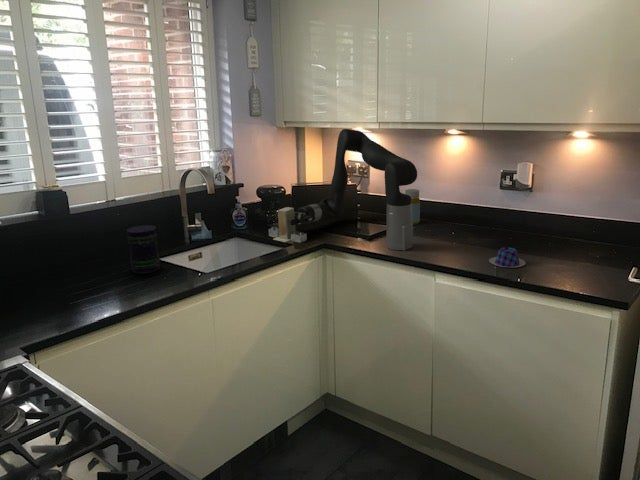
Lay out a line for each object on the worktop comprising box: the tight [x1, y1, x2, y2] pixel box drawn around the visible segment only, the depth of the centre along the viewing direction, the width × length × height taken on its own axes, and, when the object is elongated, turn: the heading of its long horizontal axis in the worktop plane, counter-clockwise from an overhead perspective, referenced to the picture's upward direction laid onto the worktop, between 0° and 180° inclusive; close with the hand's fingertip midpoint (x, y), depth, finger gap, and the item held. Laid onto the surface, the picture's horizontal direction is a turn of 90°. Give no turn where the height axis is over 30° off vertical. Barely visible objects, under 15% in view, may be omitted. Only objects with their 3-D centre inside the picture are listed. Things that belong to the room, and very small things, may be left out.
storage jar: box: [126, 224, 161, 274], centre depth 194 cm, size 10×10×15 cm
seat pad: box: [272, 237, 292, 243], centre depth 229 cm, size 7×10×1 cm
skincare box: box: [277, 206, 296, 239], centre depth 227 cm, size 6×4×12 cm
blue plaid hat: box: [488, 247, 526, 268], centre depth 189 cm, size 12×12×5 cm
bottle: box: [404, 188, 421, 226], centre depth 245 cm, size 7×7×15 cm
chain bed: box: [268, 226, 308, 244], centre depth 229 cm, size 18×4×4 cm, turn 50°
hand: (283, 221), depth 226 cm, fingers open, 8 cm apart
